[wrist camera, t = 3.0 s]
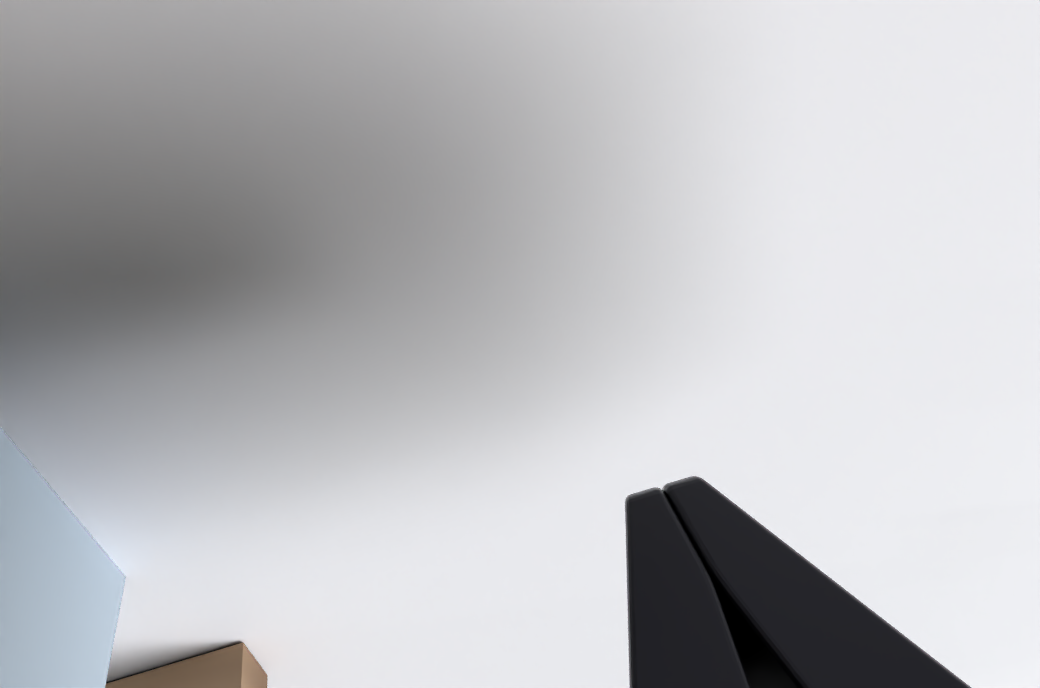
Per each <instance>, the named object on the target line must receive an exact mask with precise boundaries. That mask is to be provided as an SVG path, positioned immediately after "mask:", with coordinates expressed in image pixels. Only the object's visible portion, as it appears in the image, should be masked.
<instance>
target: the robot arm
mask: <svg viewBox="0 0 1040 688" xmlns="http://www.w3.org/2000/svg"><path fill="white" fill-rule="evenodd" d="M625 518H626V558H627V599H628V639H629V680H630V688H971V687H970V686H968V685H967V684H966V683H965V682H963V681H962V680H961V679H959V678H958V677H957V676H956V675H954V674H953V673H952V672H950V671H949V670H948V669H947V668H945V667H944V666H943V665H941V664H940V663H939V662H938V661H936V660H935V659H934V658H932V657H931V656H930V655H929V654H927V653H926V652H925V651H923V650H922V649H921V648H920V647H918V646H917V645H916V644H914V643H913V642H912V641H911V640H909V639H908V638H907V637H905V636H904V635H903V634H902V633H900V632H899V631H898V630H896V629H895V628H894V627H893V626H891V625H890V624H889V623H887V622H886V621H885V620H884V619H882V618H881V617H880V616H878V615H877V614H876V613H875V612H873V611H872V610H871V609H869V608H868V607H867V606H866V605H864V604H863V603H862V602H860V601H859V600H858V599H857V598H855V597H854V596H853V595H851V594H850V593H849V592H848V591H846V590H845V589H844V588H842V587H841V586H840V585H839V584H837V583H836V582H835V581H833V580H832V579H831V578H830V577H828V576H827V575H826V574H824V573H823V572H822V571H821V570H819V569H818V568H817V567H815V566H814V565H813V564H812V563H810V562H809V561H808V560H806V559H805V558H804V557H802V556H801V555H800V554H799V553H797V552H796V551H795V550H793V549H792V548H791V547H790V546H788V545H787V544H786V543H784V542H783V541H782V540H781V539H779V538H778V537H777V536H775V535H774V534H773V533H772V532H770V531H769V530H768V529H766V528H765V527H764V526H763V525H761V524H760V523H759V522H757V521H756V520H755V519H754V518H752V517H751V516H750V515H748V514H747V513H746V512H745V511H743V510H742V509H741V508H739V507H738V506H737V505H736V504H734V503H733V502H732V501H730V500H729V499H728V498H727V497H725V496H724V495H723V494H721V493H720V492H719V491H718V490H716V489H715V488H714V487H712V486H711V485H710V484H709V483H707V482H706V481H705V480H703V479H702V478H700V477H696V476H692V477H688V478H685V479H681V480H678V481H674V482H671V483H668V484H666V485H665V486H664V487H663V490H661V489H660V488H651V489H648V490H644V491H641V492H638V493H634V494H631V495H629V496H628V497H627V498H626V501H625Z"/></svg>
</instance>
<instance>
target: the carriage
mask: <svg viewBox="0 0 1040 688" xmlns="http://www.w3.org/2000/svg"><path fill="white" fill-rule="evenodd" d="M125 578H126V576H125V575H124V574H123V572H122V571H121V570H120V569H119V568H118V566H117V565H116V564H115V563H114V562H113V561H112V559H111V558H110V557H109V556H108V555H107V553H106V552H105V551H104V550H103V549H102V547H101V546H100V545H99V544H98V543H97V541H96V540H95V539H94V538H93V537H92V535H91V534H90V533H89V532H88V531H87V530H86V528H85V527H84V526H83V525H82V524H81V522H80V521H79V520H78V519H77V518H76V516H75V515H74V514H73V513H72V512H71V510H70V509H69V508H68V507H67V506H66V504H65V503H64V502H63V501H62V500H61V498H60V497H59V496H58V495H57V494H56V493H55V491H54V490H53V489H52V488H51V487H50V485H49V484H48V483H47V482H46V481H45V479H44V478H43V477H42V476H41V475H40V473H39V472H38V471H37V470H36V469H35V467H34V466H33V465H32V464H31V463H30V462H29V460H28V459H27V458H26V457H25V456H24V454H23V453H22V452H21V451H20V450H19V448H18V447H17V446H16V445H15V444H14V442H13V441H12V440H11V439H10V438H9V436H8V435H7V434H6V433H5V432H4V430H3V429H2V428H1V427H0V688H105V685H106V680H107V675H108V669H109V664H110V658H111V653H112V648H113V642H114V637H115V632H116V626H117V621H118V615H119V610H120V605H121V599H122V594H123V589H124V583H125Z"/></svg>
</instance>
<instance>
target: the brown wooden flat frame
mask: <svg viewBox="0 0 1040 688" xmlns="http://www.w3.org/2000/svg"><path fill="white" fill-rule="evenodd" d="M105 688H267V674H266V673H265V671H264V670H263V669H262V667H261V666H260V665H259V663H258V662H257V661H256V659H255V658H254V656H253V655H252V654H251V652H250V651H249V650H248V648H247V647H246V646H245V644H244V643H239V644H236V645H233V646H230V647H226V648H223V649H220V650H216V651H213V652H210V653H206V654H203V655H200V656H196V657H193V658H190V659H186V660H183V661H180V662H176V663H173V664H170V665H166V666H163V667H160V668H157V669H153V670H150V671H147V672H143V673H140V674H137V675H133V676H130V677H127V678H123V679H120V680H117V681H113V682H110V683H107V684H106V685H105Z"/></svg>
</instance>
